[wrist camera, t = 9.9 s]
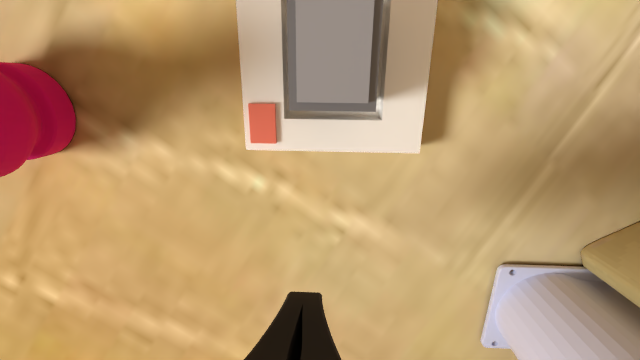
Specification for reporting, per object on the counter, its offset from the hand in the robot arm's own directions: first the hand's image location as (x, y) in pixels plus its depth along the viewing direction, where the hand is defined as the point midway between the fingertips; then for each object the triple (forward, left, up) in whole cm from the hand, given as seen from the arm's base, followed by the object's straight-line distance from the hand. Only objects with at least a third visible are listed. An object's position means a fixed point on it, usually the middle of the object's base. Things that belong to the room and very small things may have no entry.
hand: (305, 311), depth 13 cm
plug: (-1, -11, -10) cm, 14 cm away
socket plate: (-1, -11, -10) cm, 15 cm away
